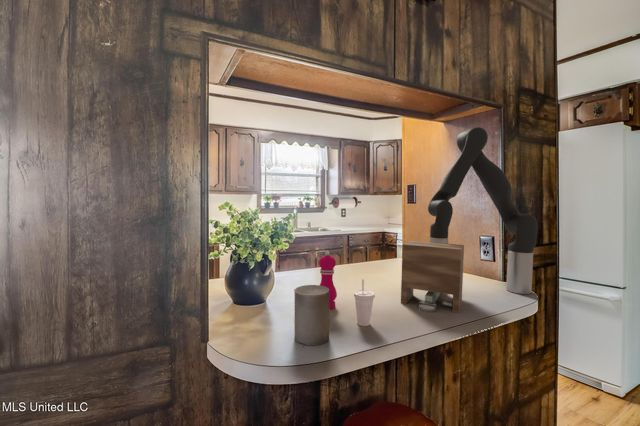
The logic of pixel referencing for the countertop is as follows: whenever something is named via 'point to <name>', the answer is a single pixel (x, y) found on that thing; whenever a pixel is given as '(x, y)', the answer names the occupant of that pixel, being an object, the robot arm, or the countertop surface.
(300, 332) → the pillar candle
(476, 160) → the robot arm
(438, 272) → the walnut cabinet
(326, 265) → the pepper mill
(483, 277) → the countertop surface
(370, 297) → the smoothie
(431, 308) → the steel puck
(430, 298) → the sage stick
